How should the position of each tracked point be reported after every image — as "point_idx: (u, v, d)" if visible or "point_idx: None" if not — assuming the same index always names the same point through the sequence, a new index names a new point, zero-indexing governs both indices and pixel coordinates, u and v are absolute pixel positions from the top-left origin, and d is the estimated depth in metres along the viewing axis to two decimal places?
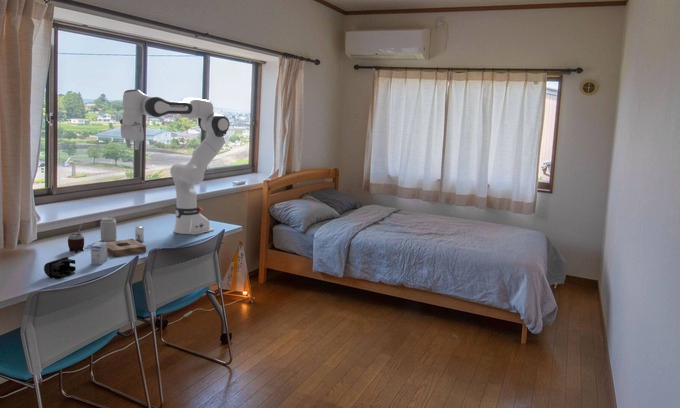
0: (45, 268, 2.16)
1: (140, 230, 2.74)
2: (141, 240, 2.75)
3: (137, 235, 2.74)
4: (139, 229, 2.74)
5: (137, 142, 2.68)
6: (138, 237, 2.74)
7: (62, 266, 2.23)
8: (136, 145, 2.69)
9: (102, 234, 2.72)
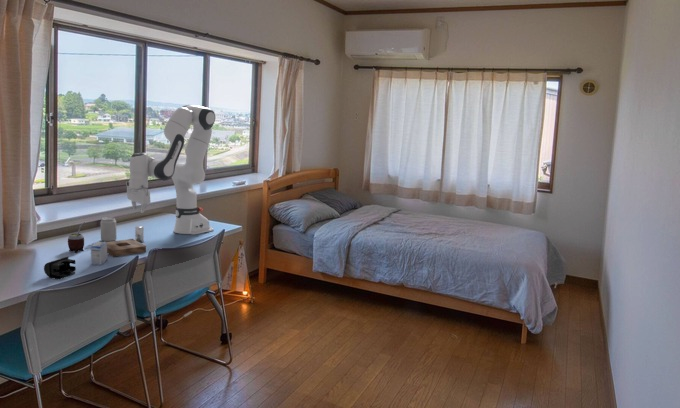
0: (45, 268, 2.16)
1: (140, 230, 2.74)
2: (141, 240, 2.75)
3: (137, 235, 2.74)
4: (139, 229, 2.74)
5: (143, 205, 2.68)
6: (138, 237, 2.74)
7: (62, 266, 2.23)
8: (142, 208, 2.69)
9: (102, 234, 2.72)
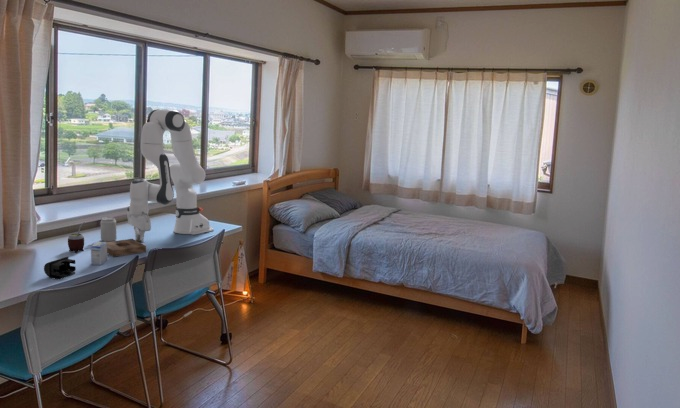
0: (45, 268, 2.16)
1: None
2: (141, 240, 2.75)
3: (137, 235, 2.74)
4: (139, 229, 2.74)
5: (142, 230, 2.72)
6: (138, 237, 2.74)
7: (62, 266, 2.23)
8: (141, 233, 2.73)
9: (102, 234, 2.72)
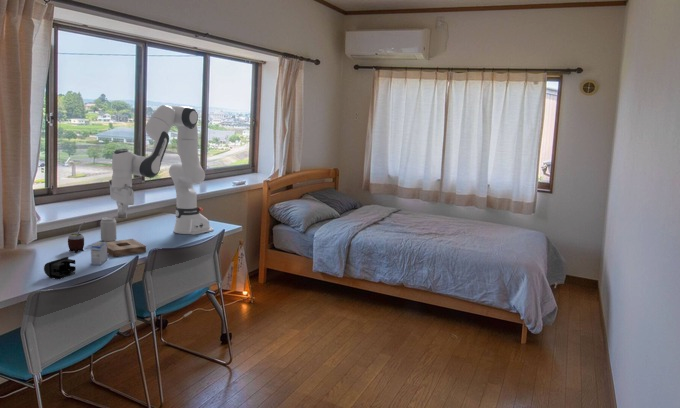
0: (45, 268, 2.16)
1: None
2: (124, 216, 2.56)
3: (119, 210, 2.55)
4: None
5: (125, 205, 2.53)
6: (121, 213, 2.55)
7: (62, 266, 2.23)
8: (124, 208, 2.53)
9: (102, 234, 2.72)
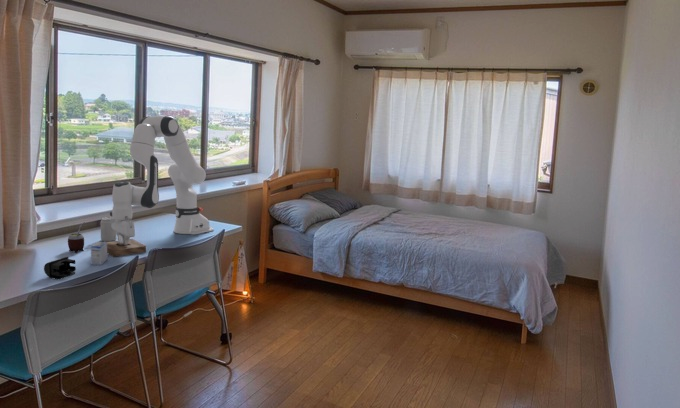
0: (45, 268, 2.16)
1: (123, 238, 2.57)
2: None
3: (120, 243, 2.58)
4: (122, 237, 2.57)
5: (127, 237, 2.55)
6: None
7: (62, 266, 2.23)
8: (126, 240, 2.55)
9: (102, 234, 2.72)
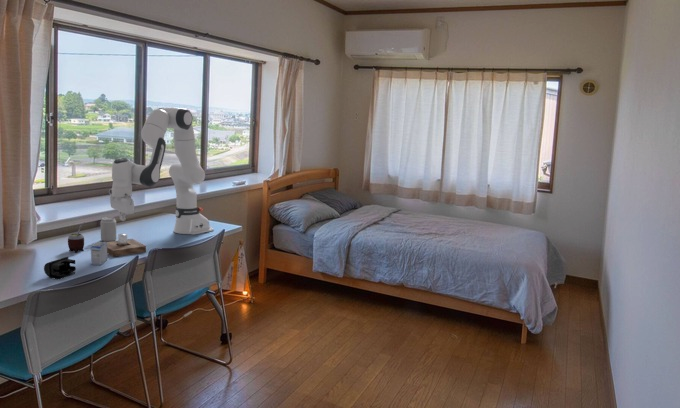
0: (45, 268, 2.16)
1: (123, 238, 2.57)
2: None
3: (120, 243, 2.58)
4: (122, 237, 2.57)
5: (124, 213, 2.55)
6: None
7: (62, 266, 2.23)
8: (123, 216, 2.56)
9: (102, 234, 2.72)
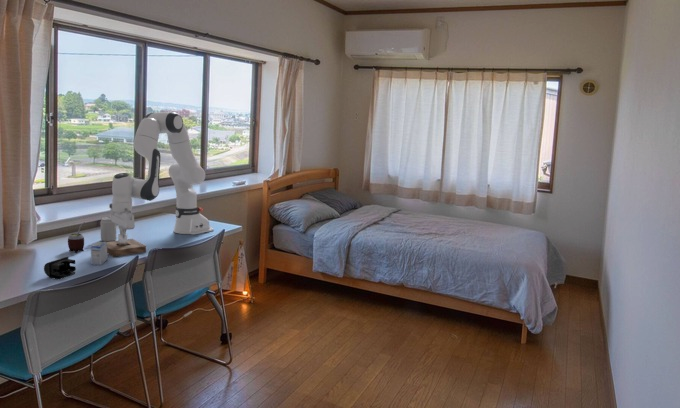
0: (45, 268, 2.16)
1: (123, 238, 2.57)
2: None
3: (120, 243, 2.58)
4: (122, 237, 2.57)
5: (124, 228, 2.56)
6: None
7: (62, 266, 2.23)
8: (123, 231, 2.57)
9: (102, 234, 2.72)
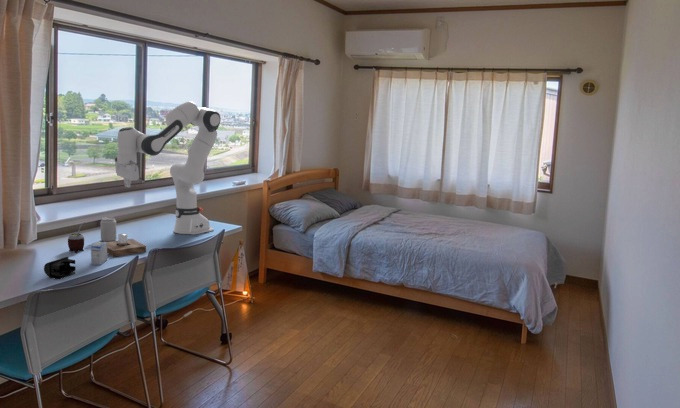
0: (45, 268, 2.16)
1: (123, 238, 2.57)
2: None
3: (120, 243, 2.58)
4: (122, 237, 2.57)
5: (129, 180, 2.67)
6: None
7: (62, 266, 2.23)
8: (128, 183, 2.67)
9: (102, 234, 2.72)
